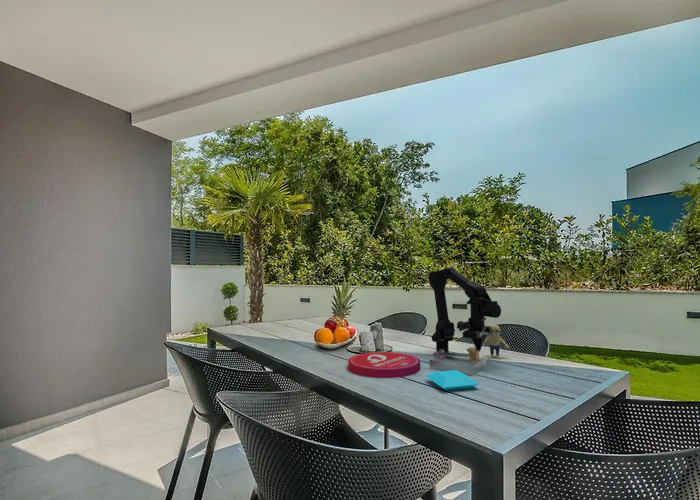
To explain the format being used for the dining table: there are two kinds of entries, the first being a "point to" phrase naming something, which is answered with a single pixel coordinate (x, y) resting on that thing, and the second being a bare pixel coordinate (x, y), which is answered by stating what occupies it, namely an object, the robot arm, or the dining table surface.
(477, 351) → the tab
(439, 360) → the grey piece
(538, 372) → the dining table surface
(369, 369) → the sign
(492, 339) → the toy
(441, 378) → the prism
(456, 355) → the strap
